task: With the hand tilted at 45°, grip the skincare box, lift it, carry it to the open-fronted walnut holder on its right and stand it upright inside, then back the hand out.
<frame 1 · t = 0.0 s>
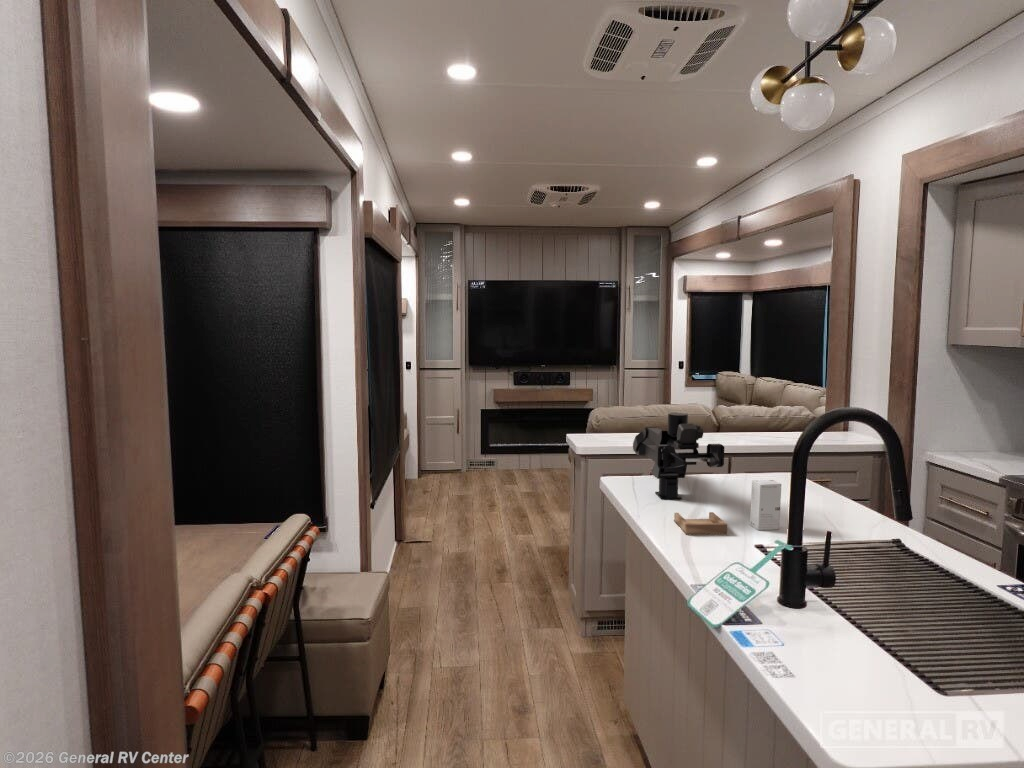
hand: (701, 462, 155), 17 cm above the counter, tool horizontal, fingers open, 9 cm apart
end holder: (699, 527, 154), on the counter
skincare box: (764, 528, 154), on the counter
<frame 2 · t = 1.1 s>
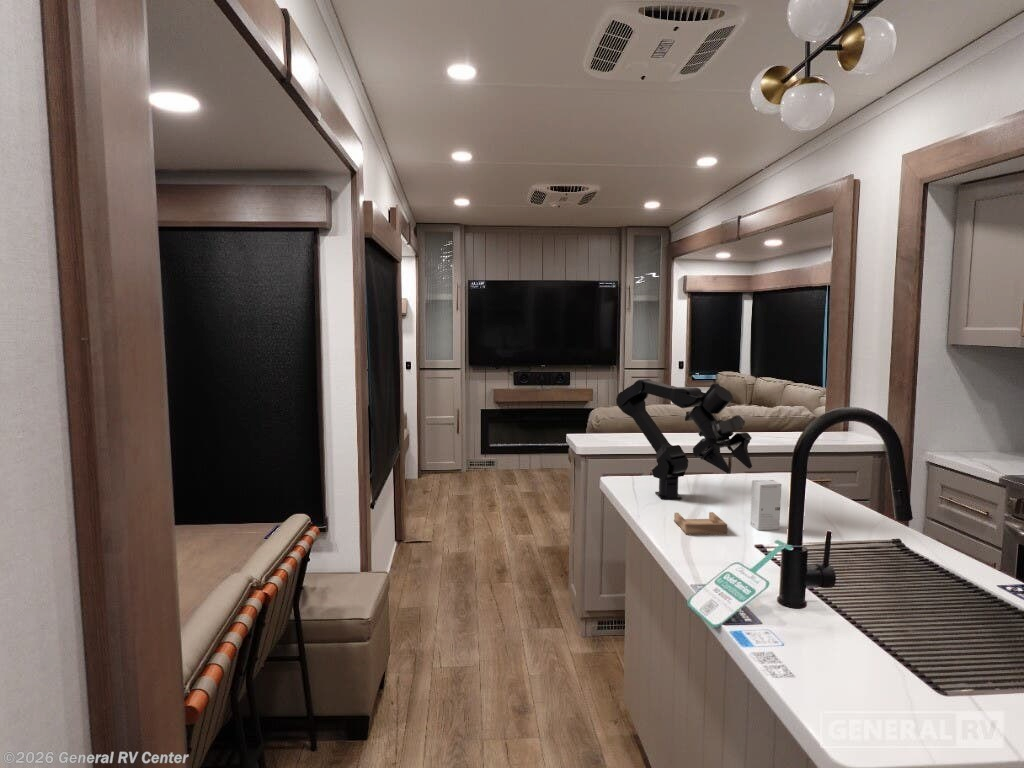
hand: (740, 470, 160), 14 cm above the counter, tool tilted 45°, fingers open, 9 cm apart
nothing on the counter moved.
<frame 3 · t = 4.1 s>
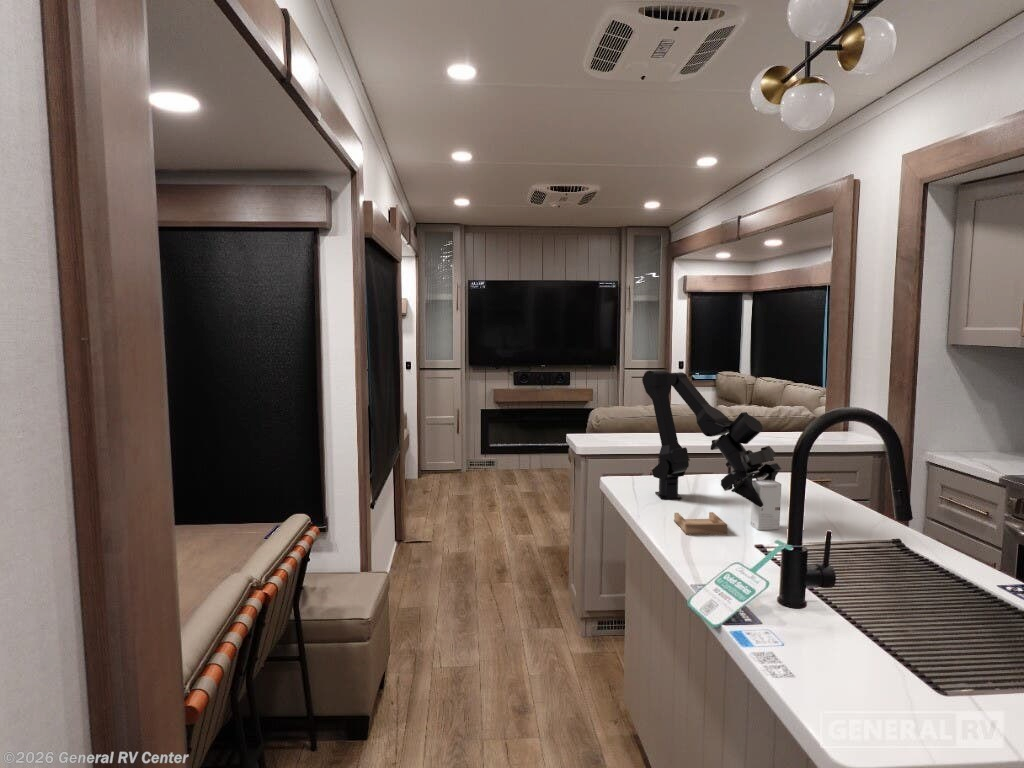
hand: (770, 503, 153), 7 cm above the counter, tool tilted 45°, fingers closed on skincare box, 7 cm apart
skincare box: (764, 527, 154), on the counter, touching gripper
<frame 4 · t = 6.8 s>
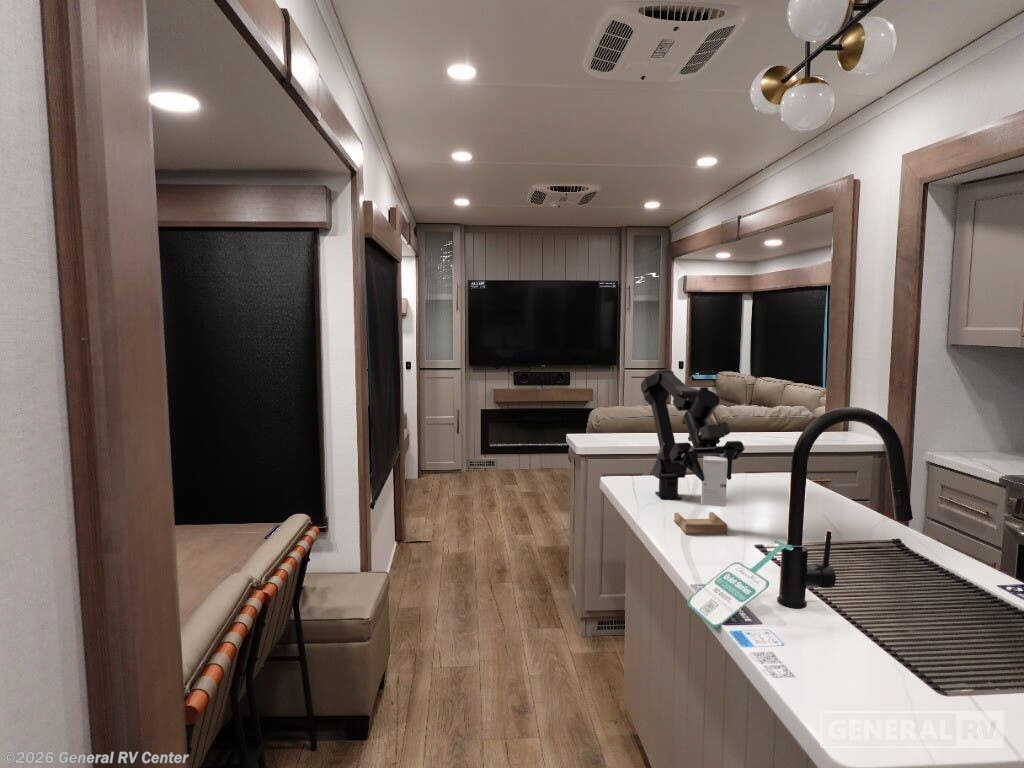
hand: (716, 479, 151), 13 cm above the counter, tool tilted 45°, fingers closed on skincare box, 7 cm apart
skincare box: (713, 504, 153), point 6 cm above the counter, touching gripper
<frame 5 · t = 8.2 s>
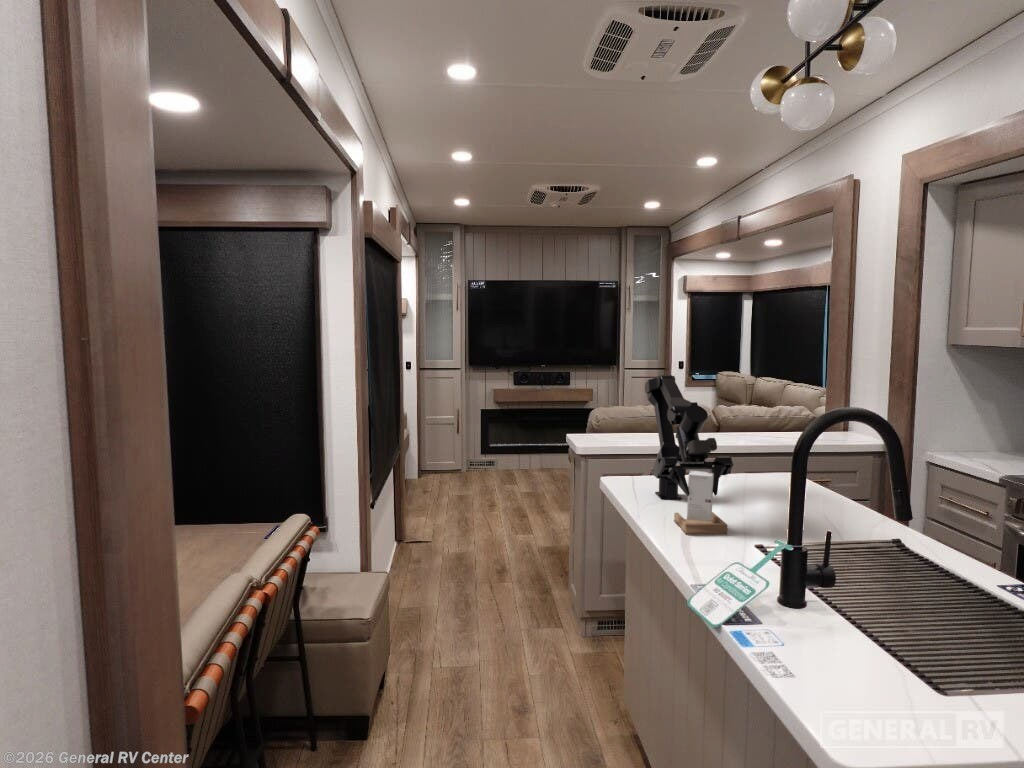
hand: (702, 494, 152), 9 cm above the counter, tool tilted 45°, fingers closed on skincare box, 7 cm apart
skincare box: (699, 519, 154), point 2 cm above the counter, touching gripper
when the fingers open (7 cm above the counter, at t = 9.5 s): skincare box stays where it is, resting on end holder.
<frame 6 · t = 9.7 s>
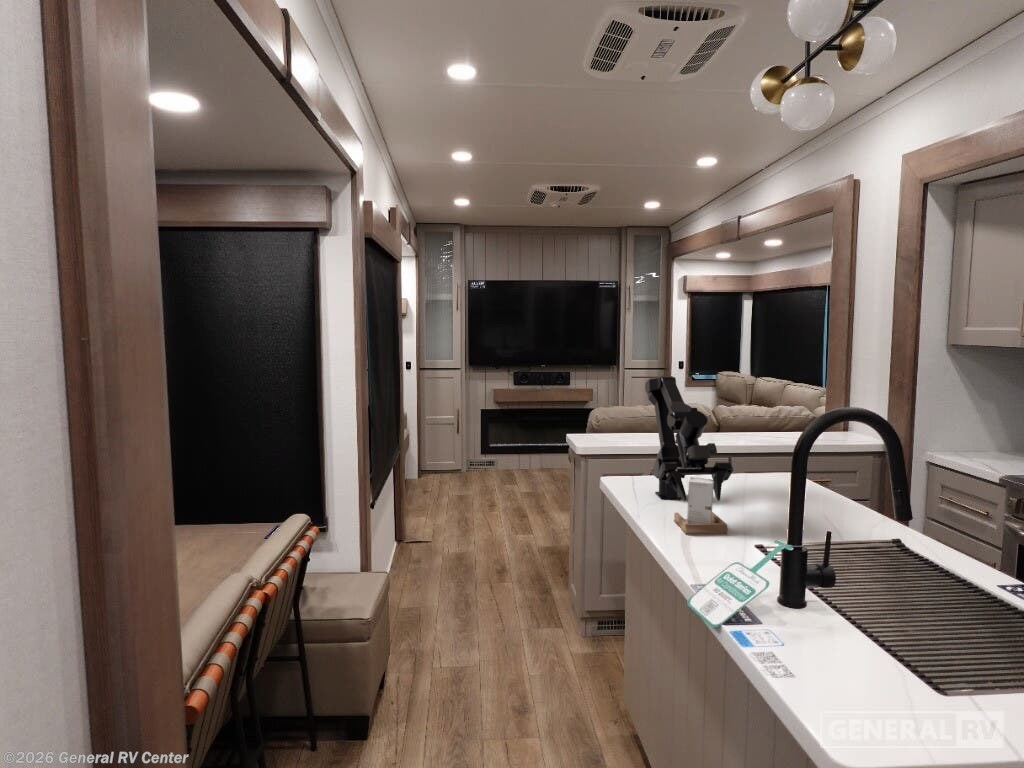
hand: (702, 500, 152), 8 cm above the counter, tool tilted 45°, fingers open, 8 cm apart
skincare box: (699, 526, 154), resting on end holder
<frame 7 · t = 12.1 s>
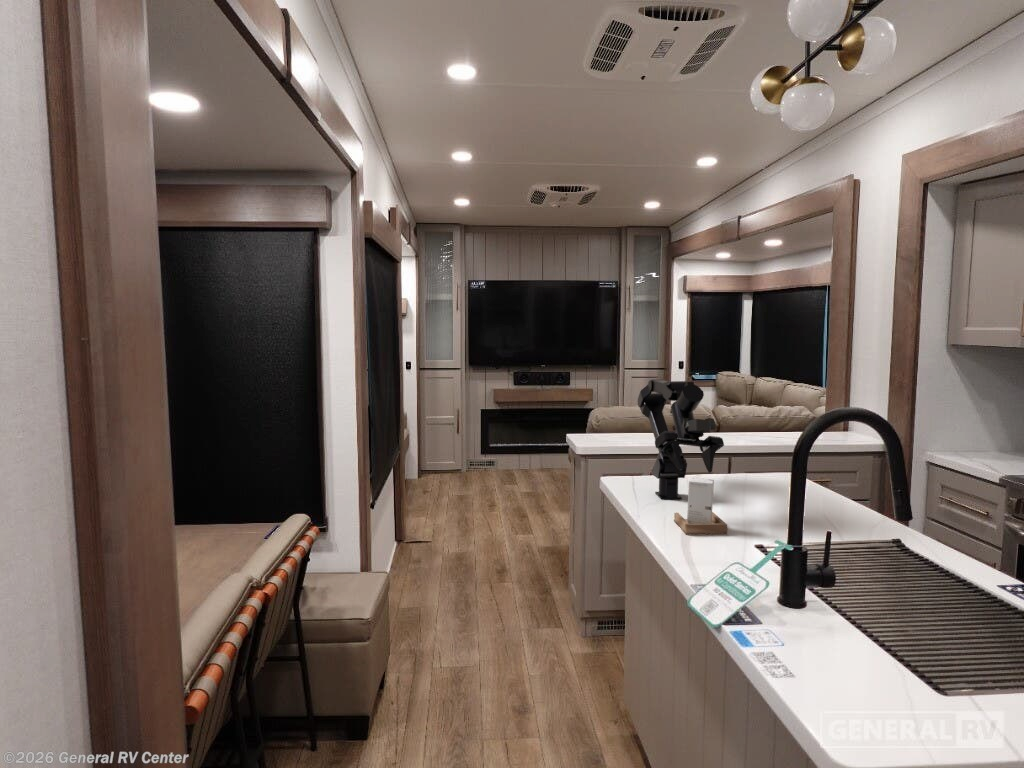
hand: (695, 470, 160), 13 cm above the counter, tool tilted 40°, fingers open, 9 cm apart
nothing on the counter moved.
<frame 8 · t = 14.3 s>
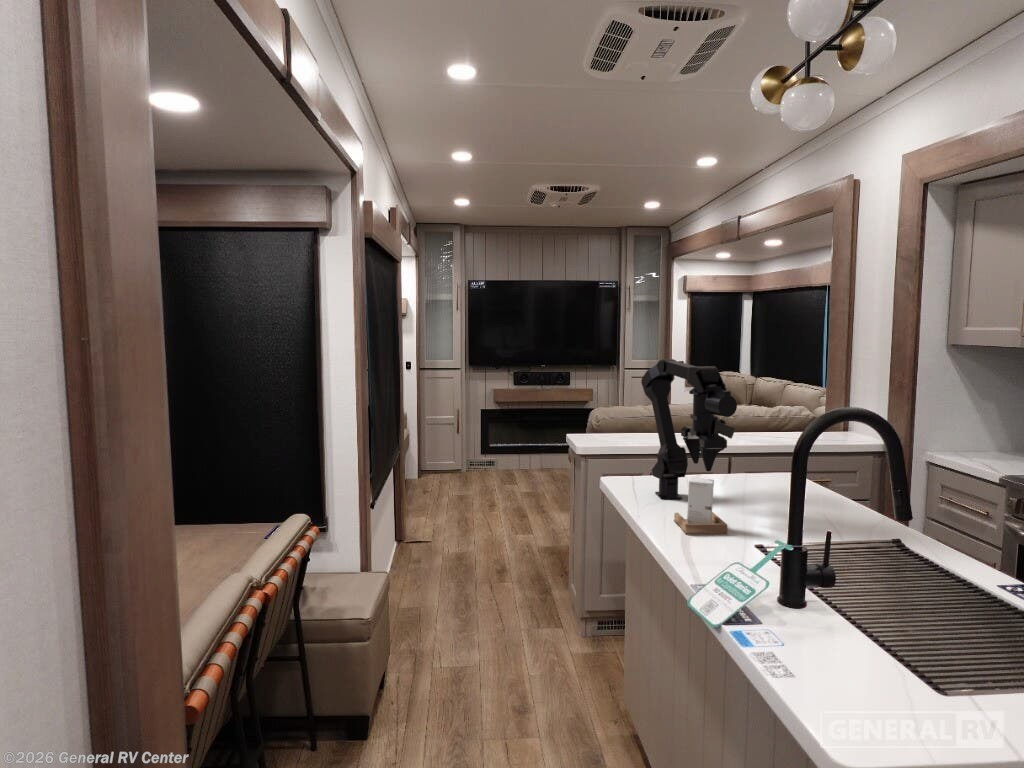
hand: (702, 467, 165), 13 cm above the counter, tool pointing down, fingers open, 9 cm apart
nothing on the counter moved.
at the end: skincare box 0.2 cm off-centre on the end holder, point 0.3 cm above the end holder's base; skincare box tilted 0°; the gripper is holding nothing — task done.
